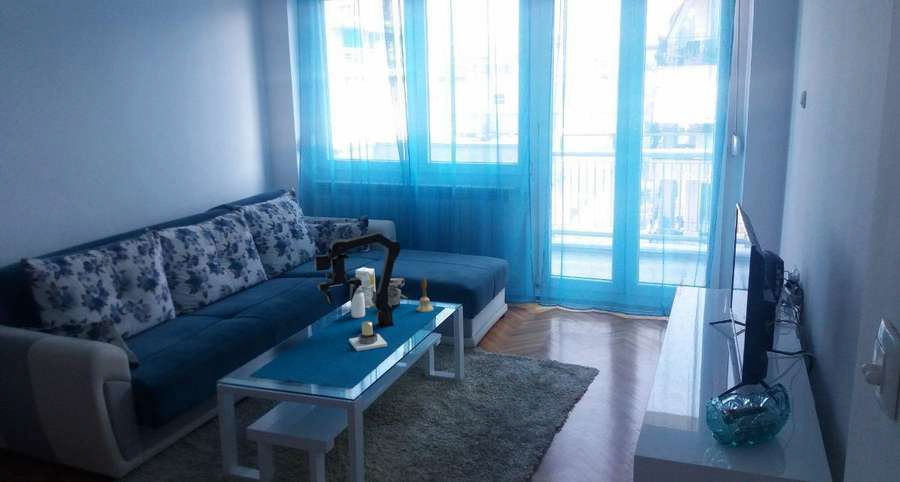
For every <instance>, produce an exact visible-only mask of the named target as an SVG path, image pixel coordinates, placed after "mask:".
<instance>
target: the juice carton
mask: <svg viewBox="0 0 900 482" xmlns="http://www.w3.org/2000/svg"><path fill="white" fill-rule="evenodd" d="M375 276H376V275H375V268H369V267H364V266H363V267H360V268H357V269H355V277H358V278H359V279H360V280H361V281H362V286H359V288H357V290H361V291H363V294H364V302H365V309H370V308H373V307H375V306H374V305H373V303H372V300H371V298H372V296H373V291H375V292H376V291H377V290H376V277H375Z"/></svg>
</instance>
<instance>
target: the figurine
mask: <svg viewBox="0 0 900 482" xmlns="http://www.w3.org/2000/svg"><path fill="white" fill-rule="evenodd" d="M404 285H405V279H404V278H403V277H400V278H399V277H398V278H397V277H396V278H391V279H390V284H389V288H388V304H389V305H390V306H391V307H392V308H393V306H395V307H400V306H401V302H403V301H404V299H405V300H408V298H410V294H408V295H407V296H405V295H404V294H402V290H401V289H399V288H402V287H403V286H404ZM401 298H402V299H401Z"/></svg>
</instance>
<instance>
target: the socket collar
mask: <svg viewBox="0 0 900 482" xmlns="http://www.w3.org/2000/svg"><path fill="white" fill-rule="evenodd" d="M376 334H377V333H376V332H373V337H372V338H363V336H362V333H360V334H359V335H357V337H358V342H359V343H360V344H373V343H375V342H377V341H378V340H377V335H376Z"/></svg>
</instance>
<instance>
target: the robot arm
mask: <svg viewBox="0 0 900 482" xmlns="http://www.w3.org/2000/svg"><path fill="white" fill-rule="evenodd" d="M375 243H379V244H380V245H382V246H384V262H383V267H382V271H381V275H380V279H379V284H378V287H377V290H376V292H375V291H373V296H372V298H371V300H372V303H373V305H374V306H373V307H374V308H375V309H377V314H376V317H375V318H376V324H377V325H378V326H379V327H380V328H384V327H391V326H395V324H394V321H393V319H394V318H393V311H394V308H393V306H392V307H391V306H390V305H389V304H388V288H389V284H390V279H392V275H393V270H394V265H395V262H396V260H397V259H398V257H399V254H400V252H401V250H402V246H401V245H402V244H401V243H400V242H398V241H397V240H395V239H393V238H392V239H390V238H387V237H386V236H384V235H383V234H382V233H381V232H379V231H376V232H373V233H369V234H365V235H362V236H359V237H358V236H356V237H353V238H350V239H349V238H348V239H347V238H340V239H339V238H338V239H333V240H332V241H331V242H330V244H329V248H328V250H327V251H326V253H325V254H322V255H314V259H313V260H314V262H313V264H314V271H315V272H321V271H322V272H323V271H326V272H325V279H326V280H325V281H319V282H318V283H317V289H318V291H320V292H322V293H324V294H325V295H326V298H327V300H328V302H329V304H330V305H332V294H331V290H330V288H337V287H344V286H349V301H350V302H351V301H352V299H353V297H354V294H355V292H356V290H357V288H359V286H362V281H361V280H360V279H359V278H358V277H356V276H354V277H350V278H349V279H348V280H347V271H346V260H347V259H350V256H349V255H348V254H347V253H348V252H349V251H350V250H353V249H355V248H360V247H364V246H368V245H371V244H375ZM329 269H332V270H331V271H329ZM328 271H329V272H328ZM327 280H330V283H329V282H327Z"/></svg>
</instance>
